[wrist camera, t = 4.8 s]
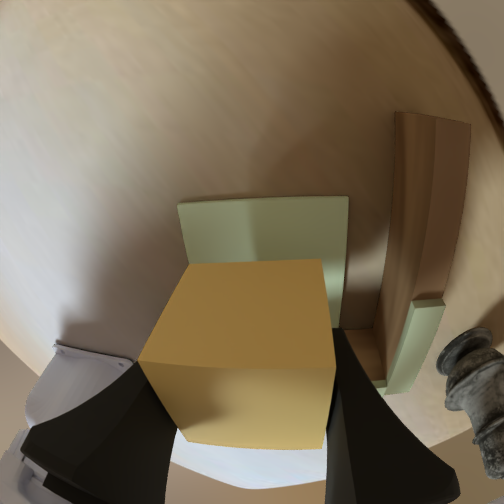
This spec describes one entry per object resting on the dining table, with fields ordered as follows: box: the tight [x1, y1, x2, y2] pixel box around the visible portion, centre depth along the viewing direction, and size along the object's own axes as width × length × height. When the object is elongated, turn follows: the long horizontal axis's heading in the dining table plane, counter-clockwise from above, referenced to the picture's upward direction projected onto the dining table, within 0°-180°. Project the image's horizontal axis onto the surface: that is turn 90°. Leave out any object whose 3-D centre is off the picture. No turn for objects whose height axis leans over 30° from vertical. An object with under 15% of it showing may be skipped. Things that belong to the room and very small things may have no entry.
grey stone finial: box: [436, 327, 504, 479], centre depth 12 cm, size 6×6×12 cm
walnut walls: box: [344, 112, 471, 398], centre depth 13 cm, size 15×14×4 cm
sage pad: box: [177, 196, 349, 328], centre depth 15 cm, size 8×8×1 cm
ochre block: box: [137, 259, 336, 450], centre depth 10 cm, size 5×5×5 cm
